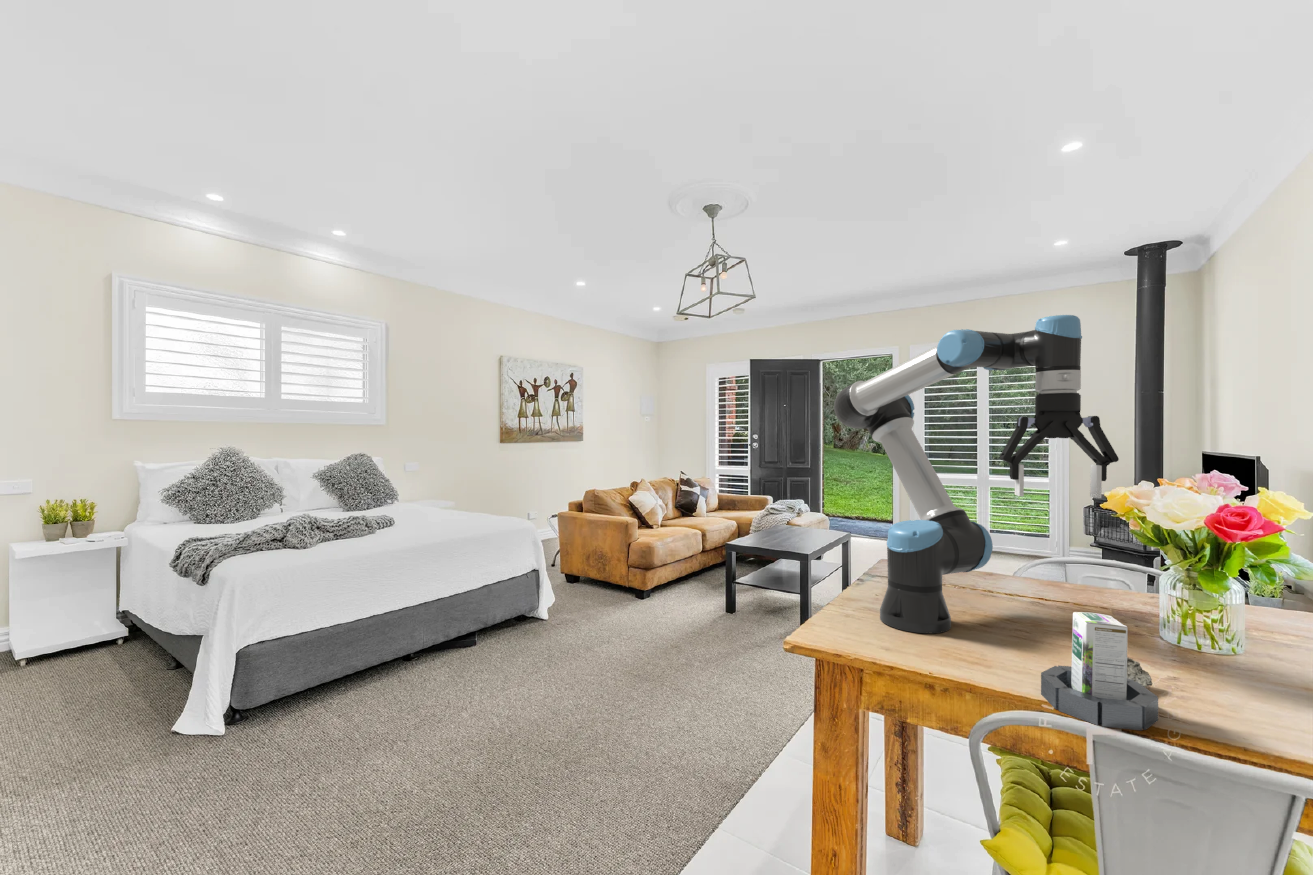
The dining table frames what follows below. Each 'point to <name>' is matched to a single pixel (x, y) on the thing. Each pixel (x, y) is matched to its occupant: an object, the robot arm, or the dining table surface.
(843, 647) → the dining table surface
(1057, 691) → the collar
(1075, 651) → the syrup box
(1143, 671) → the rock sample
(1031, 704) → the dining table surface
